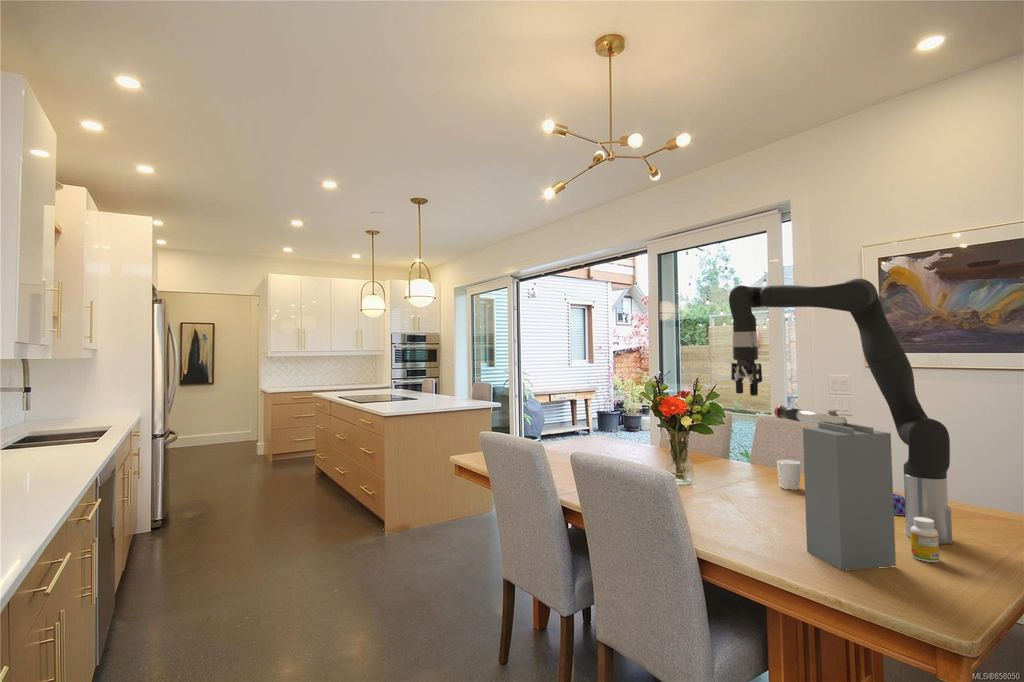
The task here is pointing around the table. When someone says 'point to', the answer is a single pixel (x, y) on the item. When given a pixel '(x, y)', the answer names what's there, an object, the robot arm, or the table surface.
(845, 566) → the tall grey box
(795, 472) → the white cup
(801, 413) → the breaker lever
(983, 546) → the table surface
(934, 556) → the supplement bottle
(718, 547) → the table surface
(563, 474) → the table surface
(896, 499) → the pudding
